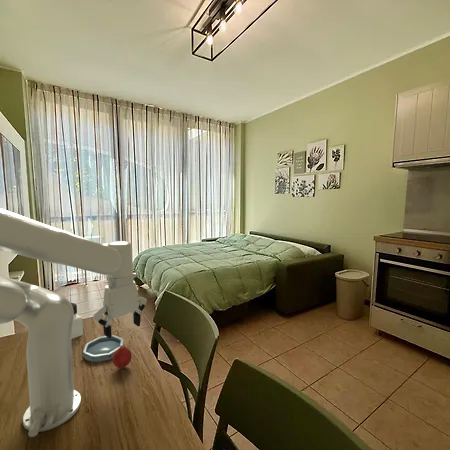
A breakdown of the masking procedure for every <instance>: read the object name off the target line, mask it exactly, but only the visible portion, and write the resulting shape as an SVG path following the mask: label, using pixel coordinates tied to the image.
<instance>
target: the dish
mask: <svg viewBox="0 0 450 450" xmlns="http://www.w3.org/2000/svg"><path fill="white" fill-rule="evenodd" d="M121 345H123V346H124V345H125V344H124V338H123V337H120V336H117V335H113V334H112V337H111V338H110V339H109V338H108V337H107V336H105V335H104V336H99V337H97V338H95V339H93V340H90V341H89V342H87V343H86V344H85V345H84V349H83V350H82V355H83V358H84V360H85V361H87V362H90V363H102V362H107V361H109V360H113V355H114V353H115V351H116V350H117V349H118V348H120V346H121ZM124 347H125V346H124Z"/></svg>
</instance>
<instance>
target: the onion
mask: <svg viewBox="0 0 450 450" xmlns="http://www.w3.org/2000/svg"><path fill="white" fill-rule="evenodd" d="M132 356H133V355H132V351H131V350H130V349H129V348H128V347H126V346H123V345H121V346H120V348H118V349H117V350H116V351H115V353H114V355H113V359H112V363H113V365H114V366H115V367H116V368H118V369H124V368H126V367H127V366H128V365H129V364H130V363H131V361H132Z"/></svg>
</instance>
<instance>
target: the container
mask: <svg viewBox="0 0 450 450" xmlns="http://www.w3.org/2000/svg"><path fill="white" fill-rule="evenodd" d="M70 303H71V304H72V307H73V310H74V318H73V324H72V333H71V340H74V339H76V338H78V337H79V338H80V336H83V334H84V330H83V329H84V328H83V326H84V325H83V317H82V316H81V315H79V314H78V305H77V304H76V303H73V302H70Z"/></svg>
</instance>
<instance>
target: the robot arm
mask: <svg viewBox="0 0 450 450" xmlns="http://www.w3.org/2000/svg"><path fill="white" fill-rule="evenodd" d="M0 251H1V252H6V253H10V254H15V255H18V256H22V257H26V258H30V259H34V260H38V261H41V262H46V263H50V264H56V265H62V266H67V267H72V268H76V269H80V270H82V271H83V270H84V271H87V272H92V273H94V274H95V273H97V274H100V275H103V276H104V275H105V276H107V285H105V287H104V293H103V307H101V308H100V309H99V310H98V311H96V312H95V313H94V314H93V318H94V319H95V321H96V322H98V324H100V325H101V326H102V327H103V328H102V329H103V334H104V336H107V337H108V338H109V339H110V338H111V337H112V335H113V334H112V325H111V323H112V321H113V320H114V319H118V318H121V317H124V316H126V315H128V314H131V313H132V314H133V318H132V319H133V324H134V325H135V326H136V327H140V326H141V321H142V319H141V315H142V313H143V310H144V309H145V307H146V304H147V301H148V299H147V298H146V297H143V296H139V293H138V292H139V291H138V289H137V283H136V282H135V280H134V279H135V278H136V277H137V272H134V269H133V268H134V263H133V262H134V261H133V246H132V243H131V242H129V241H127V240H115V241H111V242H109V243H99V242H97V241H94V240H91V239H88V238H85V237H83V236H79V235H76V234H73V233H71V232H69V231H66V230H63V229H60V228H57V227H55V226H52V225H50V224H46V223H43V222H41V221H38V220H35V219H33V218H31V217H30V218H29V217H26V216H24V215H21V214H18V213H15V212H14V211H13V212H12V211H10V210H7V209H4V208H1V207H0ZM71 303H72V302H70V301H69V299H67V298H66V297H65V296H63V295H61V294H59V293H57V292H55V291H52V290H49V289H47V288H46V287H43V286H38V285H35V284H31V283H28V282H25V281H21V280H18V279H14V278H10V277H8V276H3V275H0V325H3V324H6V323H7V324H8V323H10V322H12V321H16V322H18V323H20V324H22V325H23V326H24V327H25V328H26V329H27V331H28V333H27V334H28V336H27V337H28V338H27V342H26V350H25V352H26V354H25V355H26V356H25V357H26V366H27V367H26V368H27V384H28V394H29V396H28V397H29V399H28V400H29V406H28V408H27V409H26V410H25V412H24V414H23V416H22V425H23V428H24V429H26V431H28V433H27V434H28V435H27V436H28V437H30V438H34V437H36V436H37V435H38V434H39V432H46V431H50V430H52V429H55V428H57V427H59V426H61V425H62V424H65V422H67V421H69V420H70V419H71V418H72V417H73V416H75V414H76V413H77V412H78V410H79V408H80V407H81V402H82V398H81V397H82V396H81V394H80V392H78V391H77V390H75V389H74V388H75V387H74V367H73V366H74V364H73V348H72V344H73V343H72V339H71V333H72V324H73V318H74V310H73V307H72V304H71ZM102 315H104V317H103V318H102Z"/></svg>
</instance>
